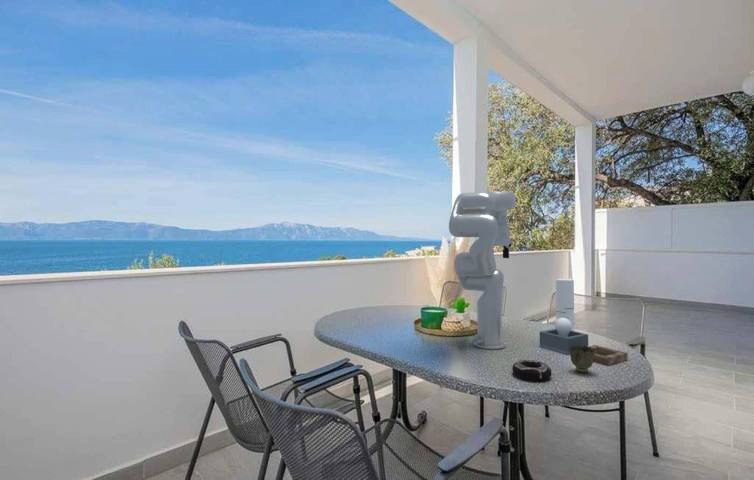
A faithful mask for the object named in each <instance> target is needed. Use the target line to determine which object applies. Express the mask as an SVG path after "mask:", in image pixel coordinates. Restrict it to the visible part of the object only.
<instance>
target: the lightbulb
mask: <svg viewBox="0 0 754 480" xmlns="http://www.w3.org/2000/svg"><path fill="white" fill-rule="evenodd" d="M554 326H555V327H554V329H556V330H557V332H558V335H559V336H564V337H568V334H569V332H570V331H571V329H572V324H571V322H570V321H569V320H568V319H566V318H559V319H557V320H556V319H555V322H554Z"/></svg>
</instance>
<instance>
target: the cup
mask: <svg viewBox="0 0 754 480" xmlns="http://www.w3.org/2000/svg"><path fill="white" fill-rule="evenodd" d="M569 348H570V354H569V357H570V360H571V364H572V365H573V366H574V367H575V370H576V372H578V373H579V374H580V373H581V374H586V373H588V372H589V369H590V368H591V367H592V366H593V364H594V362H593V360H594V353H595V349H593V350H591V347H589V346H588V347H587V346H586V345H584V346H583V347H581V345H579V348H578V346H577V345H575V346H574V345H573V347H571V346H569Z"/></svg>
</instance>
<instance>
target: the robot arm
mask: <svg viewBox="0 0 754 480" xmlns="http://www.w3.org/2000/svg"><path fill="white" fill-rule="evenodd" d="M516 202H517V199H516V194H515V193H514V191H512V190H508V191H507V190H506V191H505V190H504V191H497V190H496V191H491V190H490V191H478V192H476V191H475V192H462V193H460V194H458V195H457V196H456V198H455V200H454V203H453V206H452V210H451V213H450V214H451V215H450V216H449V221H448V231H449V233H450V235H452V237H454V238H477V239H475V240H474V242H473V243H472V244H471V245H470V247H469V249H468V251H467V252H465V251H464V252H459V253H458V254H456V256H455V257H454V262H453V264H454V265H453V267H454V271H455V275H456V277H457V280H458V281H459V284H460V286H461V288H462V289H464V290H466V291H473V292H474V291H476V292H477V291H478V292H483V293H482V294H481V295H480V296H479V297H478V299H477V304H476V308H477V309H476V310H477V313H476V314H477V317H476V318H477V322H476V323H477V325H476V326H477V327H476V328H477V333H475V336H474V337H469V338H468V342H469V343H470V344H472V343H473V345H474V346H475V347H477V348H479V349H480V348H481V349H486V350H501V349H504V348H505V347H507V346H506V344H507V343H506V342H505V341H504V340H502V338H503V337H502V335H503V333H502V331H503V330H502V327H503V325H502V322H503V321H502V320H503V319H502V298H503V297H502V293H503V287H504V281H505V280H504V279H505V277H504V273H503V271H501V270H500V269H498V268H497V263H496V258H495V252H494V248H495V246H496V247H500V246H501V247H502V258H503V259H509V258H510V250H511V247H512V244H513V241H514V240H513V239H512V238H511V235H510V227H509V224H508V221H507V220H508V218H507V217H508V216H507V215H508V210H512V209H514V207H515V206H516Z"/></svg>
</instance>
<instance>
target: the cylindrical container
mask: <svg viewBox="0 0 754 480" xmlns="http://www.w3.org/2000/svg"><path fill="white" fill-rule="evenodd" d="M574 280H575V279H573V278H556V279H555V321H556V320H557V319H559V318H566V319H568V320H569V321H570V322H571V324H572V329H571V331H575V306H574V304H575V297H574V296H575V295H574V294H575V289H574V288H575V282H574Z"/></svg>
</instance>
